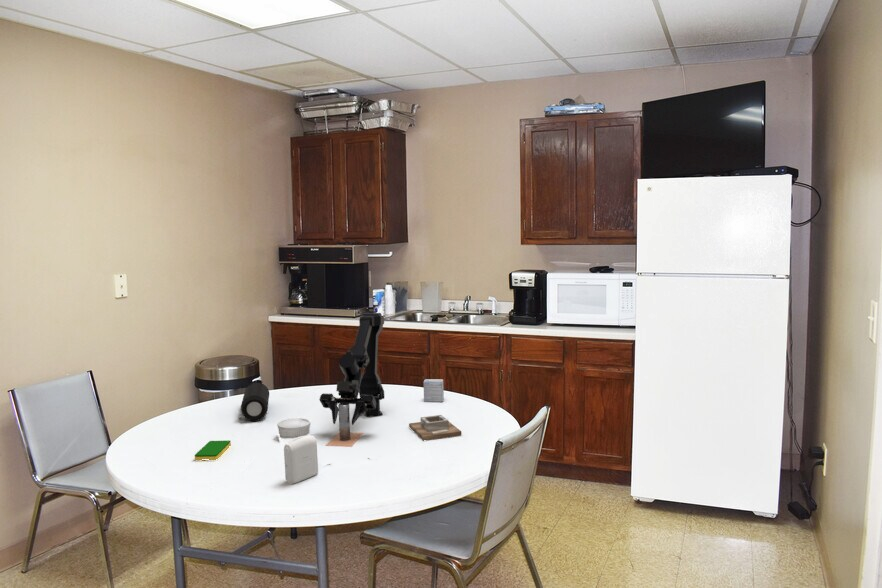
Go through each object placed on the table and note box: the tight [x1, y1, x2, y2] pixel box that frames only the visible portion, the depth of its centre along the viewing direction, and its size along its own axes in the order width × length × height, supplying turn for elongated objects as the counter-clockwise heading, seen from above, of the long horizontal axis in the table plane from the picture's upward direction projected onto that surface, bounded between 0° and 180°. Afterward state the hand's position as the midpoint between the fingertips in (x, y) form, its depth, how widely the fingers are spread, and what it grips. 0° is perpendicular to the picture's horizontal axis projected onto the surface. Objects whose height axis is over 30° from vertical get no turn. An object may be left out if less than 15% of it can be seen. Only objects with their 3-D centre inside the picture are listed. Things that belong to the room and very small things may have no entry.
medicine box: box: [423, 378, 445, 403], centre depth 274 cm, size 8×4×9 cm, turn 84°
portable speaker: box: [240, 382, 270, 422], centre depth 261 cm, size 26×10×10 cm, turn 13°
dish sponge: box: [194, 440, 232, 461], centre depth 217 cm, size 7×14×2 cm, turn 179°
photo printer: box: [283, 434, 319, 485], centre depth 193 cm, size 10×4×12 cm, turn 140°
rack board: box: [408, 414, 462, 442], centre depth 234 cm, size 16×14×4 cm
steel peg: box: [337, 403, 351, 441], centre depth 223 cm, size 4×4×12 cm
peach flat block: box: [325, 432, 364, 448], centre depth 223 cm, size 14×9×2 cm, turn 170°
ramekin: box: [276, 417, 312, 438], centre depth 231 cm, size 11×11×5 cm
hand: (343, 423), depth 221 cm, fingers open, 6 cm apart
